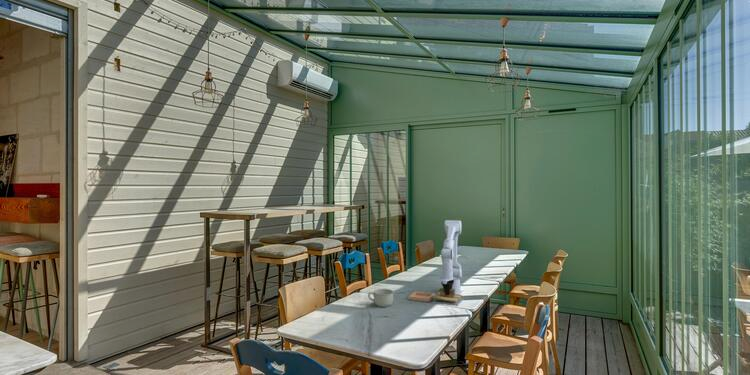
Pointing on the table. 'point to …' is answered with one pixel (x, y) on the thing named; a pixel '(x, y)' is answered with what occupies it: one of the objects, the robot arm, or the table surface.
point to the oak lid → (447, 296)
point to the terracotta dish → (421, 296)
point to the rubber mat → (448, 302)
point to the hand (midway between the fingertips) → (448, 294)
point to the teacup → (382, 297)
